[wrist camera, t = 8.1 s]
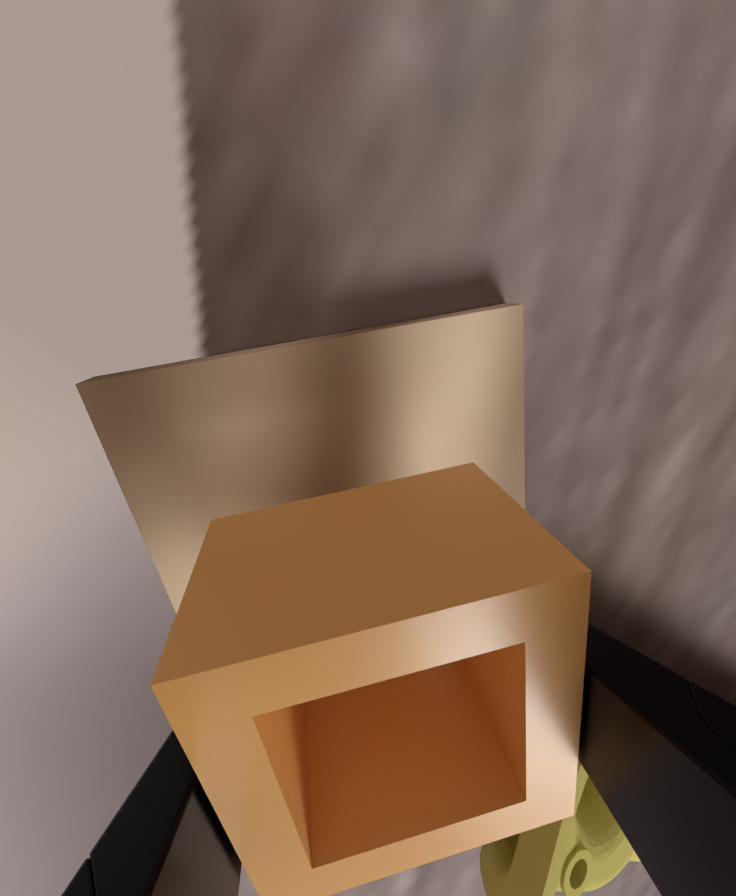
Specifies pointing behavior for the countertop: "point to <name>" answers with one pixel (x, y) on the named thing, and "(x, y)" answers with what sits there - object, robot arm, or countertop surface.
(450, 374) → the beige peg base
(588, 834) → the plastic component
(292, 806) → the orange nut
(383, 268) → the countertop surface
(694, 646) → the countertop surface
